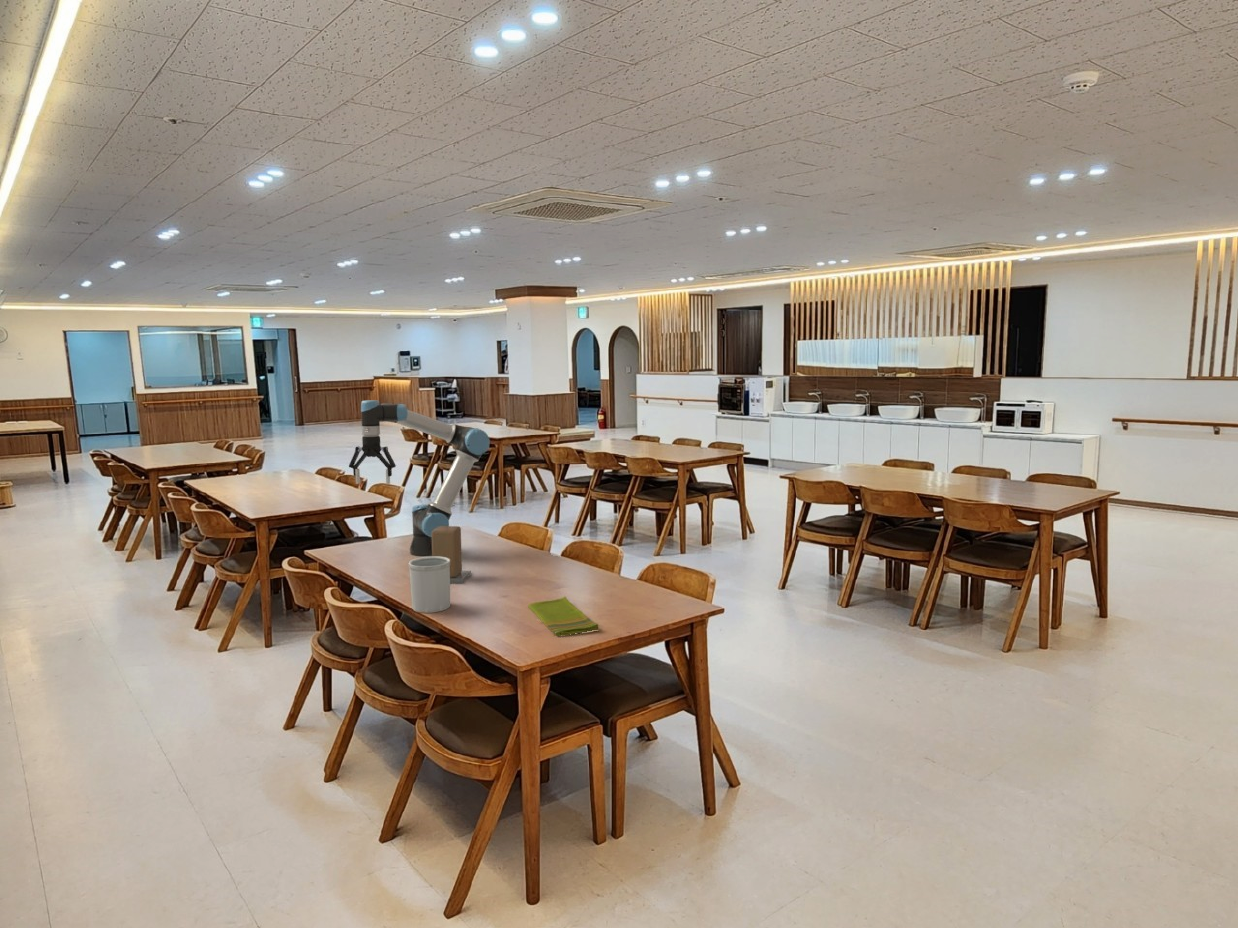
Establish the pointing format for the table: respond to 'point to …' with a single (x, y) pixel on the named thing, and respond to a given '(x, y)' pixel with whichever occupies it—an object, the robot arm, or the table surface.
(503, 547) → the table surface
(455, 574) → the wooden block
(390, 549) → the table surface
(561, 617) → the dish towel
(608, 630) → the table surface
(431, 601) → the utensil holder
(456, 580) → the plate
